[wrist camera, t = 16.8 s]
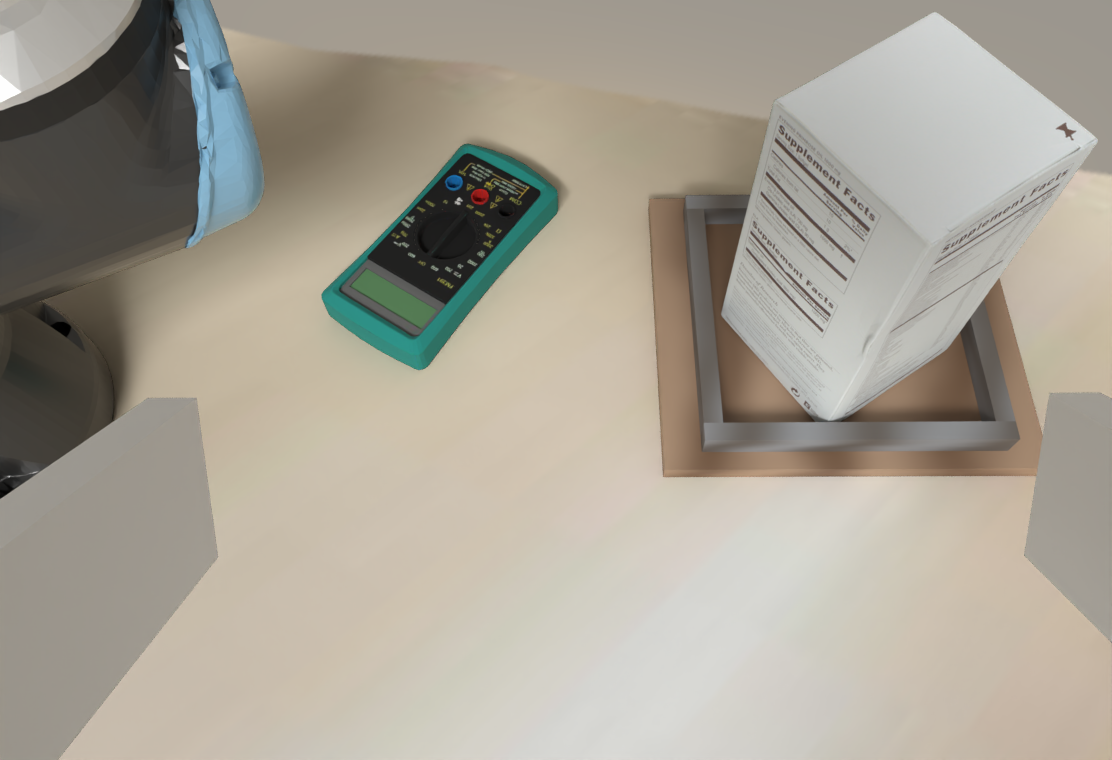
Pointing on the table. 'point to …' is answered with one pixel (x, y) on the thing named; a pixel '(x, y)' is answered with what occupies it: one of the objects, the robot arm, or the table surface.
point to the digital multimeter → (441, 254)
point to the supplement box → (891, 211)
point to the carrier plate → (774, 414)
